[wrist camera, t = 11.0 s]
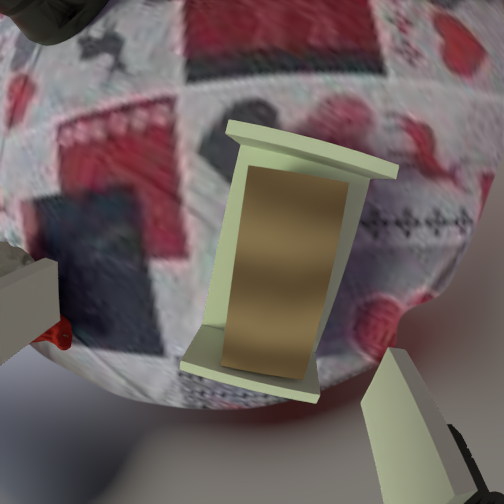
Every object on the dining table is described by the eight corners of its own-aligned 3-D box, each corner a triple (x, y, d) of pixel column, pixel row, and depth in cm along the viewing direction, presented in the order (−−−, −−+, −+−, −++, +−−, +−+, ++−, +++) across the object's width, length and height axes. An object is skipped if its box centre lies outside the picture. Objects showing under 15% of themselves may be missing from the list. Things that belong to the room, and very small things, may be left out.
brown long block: (302, 355, 28) (303, 379, 24) (229, 342, 28) (220, 365, 24) (339, 182, 24) (349, 182, 20) (254, 167, 24) (248, 165, 21)
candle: (14, 229, 32) (98, 285, 34) (5, 295, 34) (80, 349, 36) (-31, 248, 23) (61, 320, 25) (-32, 321, 26) (50, 387, 28)
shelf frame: (245, 129, 27) (230, 112, 19) (372, 163, 26) (400, 158, 19) (201, 333, 32) (178, 373, 25) (310, 361, 31) (314, 407, 24)
